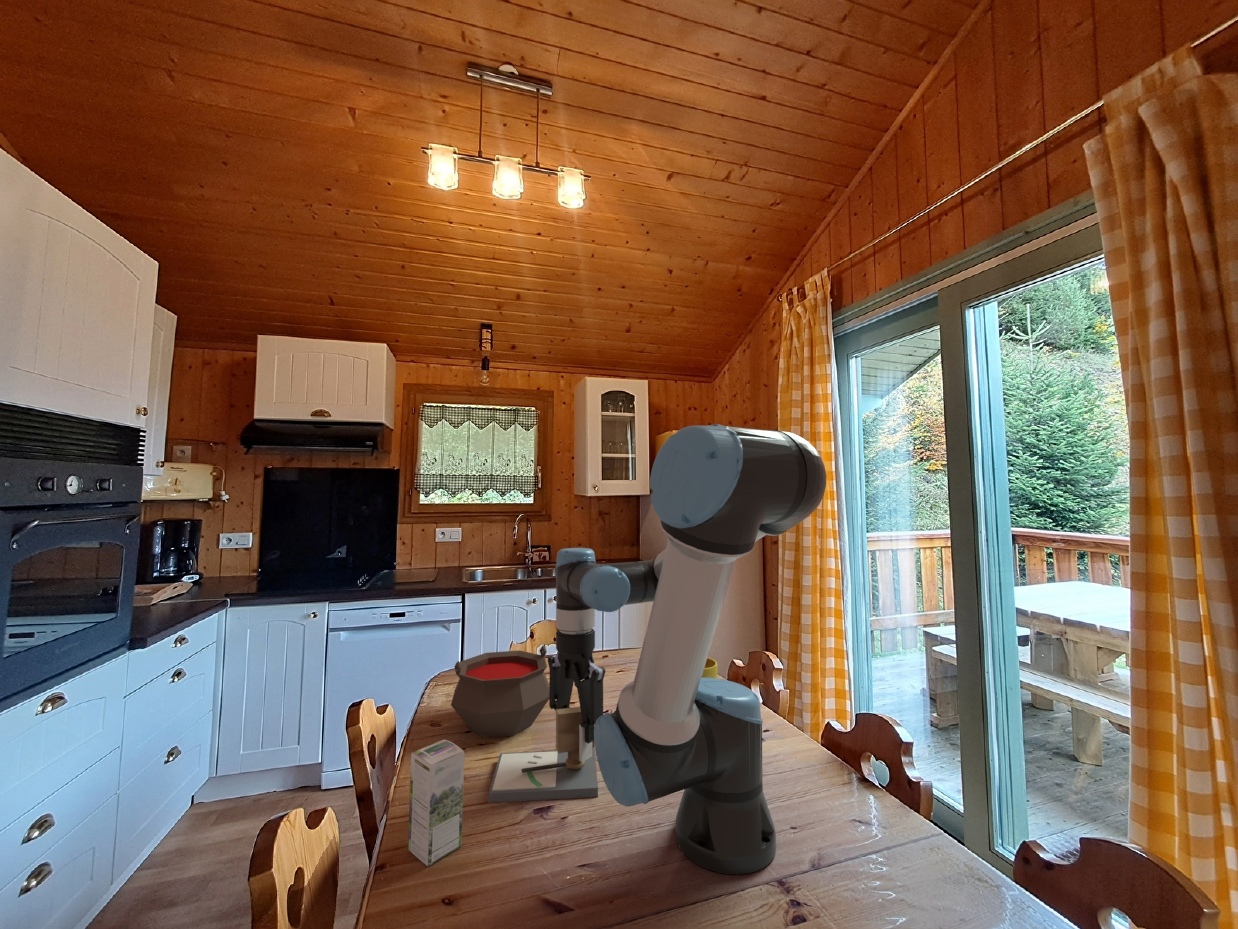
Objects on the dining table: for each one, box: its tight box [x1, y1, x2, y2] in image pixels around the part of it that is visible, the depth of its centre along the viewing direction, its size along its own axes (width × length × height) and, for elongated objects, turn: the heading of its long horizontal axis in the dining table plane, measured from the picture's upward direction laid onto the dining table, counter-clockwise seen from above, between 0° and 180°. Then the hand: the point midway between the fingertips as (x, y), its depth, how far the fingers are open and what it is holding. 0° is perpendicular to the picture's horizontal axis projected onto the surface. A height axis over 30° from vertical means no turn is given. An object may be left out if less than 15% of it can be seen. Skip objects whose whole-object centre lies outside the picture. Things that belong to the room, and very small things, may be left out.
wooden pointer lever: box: [522, 706, 595, 773], centre depth 95 cm, size 14×4×10 cm, turn 106°
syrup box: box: [407, 739, 465, 867], centre depth 76 cm, size 6×6×14 cm
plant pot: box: [701, 656, 718, 679], centre depth 131 cm, size 10×10×10 cm
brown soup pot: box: [450, 644, 549, 739], centre depth 118 cm, size 24×24×16 cm
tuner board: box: [487, 748, 599, 804], centre depth 95 cm, size 14×19×2 cm
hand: (575, 753), depth 96 cm, fingers closed on wooden pointer lever, 5 cm apart
